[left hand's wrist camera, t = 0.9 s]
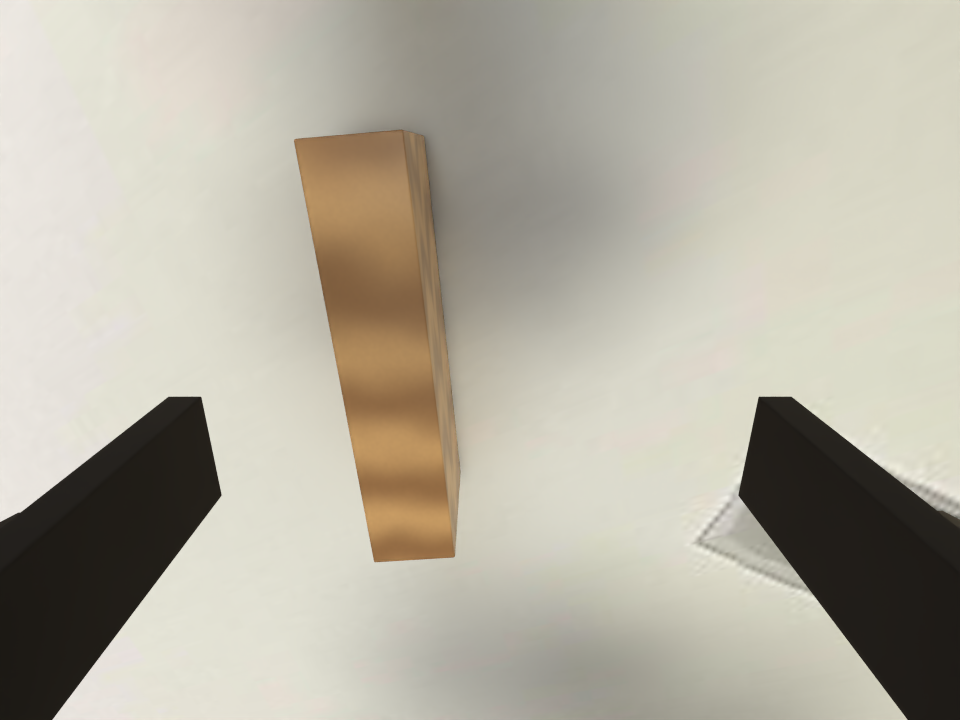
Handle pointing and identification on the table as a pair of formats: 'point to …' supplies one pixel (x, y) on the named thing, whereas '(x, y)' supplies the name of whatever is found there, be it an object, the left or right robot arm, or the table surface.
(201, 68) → the table surface
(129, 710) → the table surface
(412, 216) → the bar
